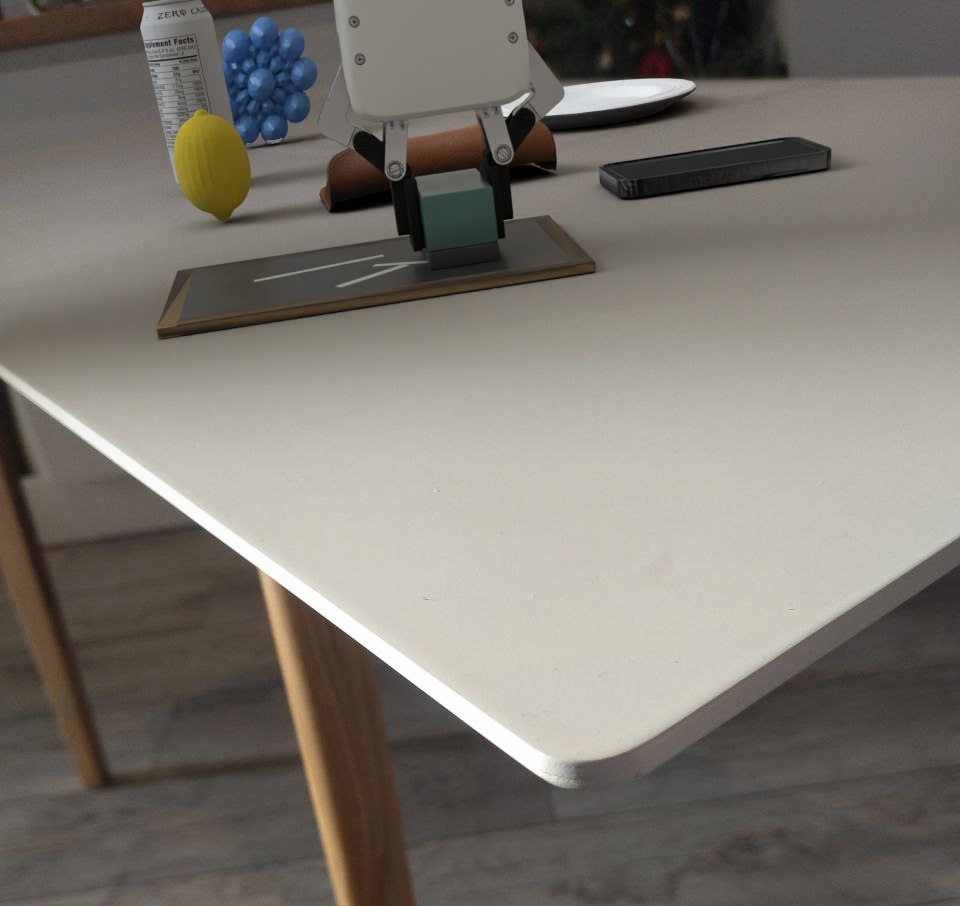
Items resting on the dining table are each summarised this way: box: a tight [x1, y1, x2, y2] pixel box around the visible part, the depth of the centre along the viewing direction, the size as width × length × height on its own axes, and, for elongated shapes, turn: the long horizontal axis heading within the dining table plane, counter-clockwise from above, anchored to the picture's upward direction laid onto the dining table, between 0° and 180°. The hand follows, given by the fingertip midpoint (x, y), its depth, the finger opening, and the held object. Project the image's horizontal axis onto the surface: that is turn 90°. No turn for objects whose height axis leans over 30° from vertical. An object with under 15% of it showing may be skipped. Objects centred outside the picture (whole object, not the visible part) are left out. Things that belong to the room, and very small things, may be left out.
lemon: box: [174, 109, 252, 222], centre depth 92 cm, size 6×6×8 cm
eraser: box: [415, 168, 500, 270], centre depth 71 cm, size 7×4×4 cm, turn 8°
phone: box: [598, 136, 832, 198], centre depth 86 cm, size 8×1×15 cm
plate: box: [501, 77, 697, 130], centre depth 119 cm, size 21×21×2 cm
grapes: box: [221, 16, 318, 144], centre depth 127 cm, size 12×7×12 cm, turn 95°
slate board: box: [155, 214, 597, 340], centre depth 72 cm, size 24×14×1 cm, turn 98°
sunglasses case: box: [318, 118, 558, 212], centre depth 95 cm, size 18×7×7 cm
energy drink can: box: [139, 0, 235, 186], centre depth 105 cm, size 6×6×15 cm
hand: (456, 237), depth 72 cm, fingers closed on eraser, 4 cm apart
